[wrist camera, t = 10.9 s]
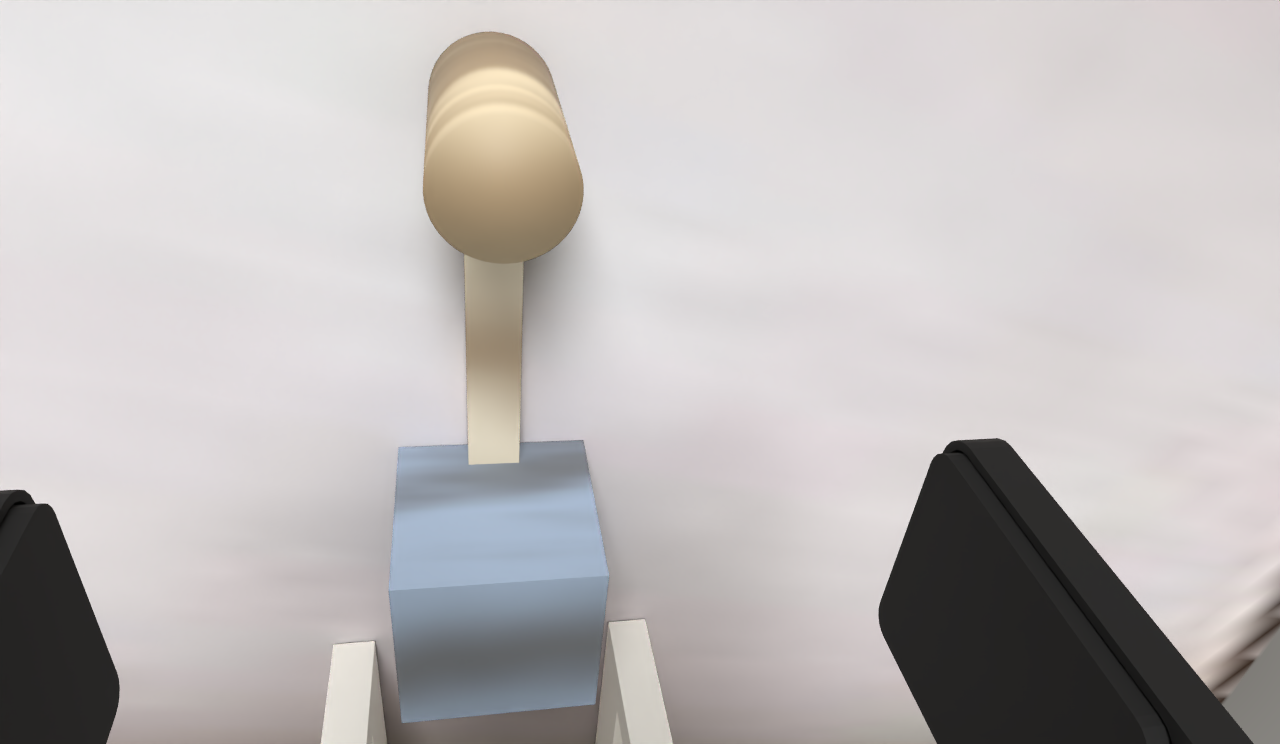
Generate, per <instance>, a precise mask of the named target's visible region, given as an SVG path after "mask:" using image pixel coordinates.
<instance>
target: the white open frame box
mask: <svg viewBox="0 0 1280 744" xmlns="http://www.w3.org/2000/svg"><path fill="white" fill-rule="evenodd" d="M321 744H387V737H386V729H385V721H384V713H383V705H382V696H381V688H380V680H379V672H378V663H377V655H376V647H375V641H370V642H357V643H345V644H333V652H332V660H331V668H330V676H329V683H328V691H327V699H326V707H325V715H324V723H323V731H322V739H321ZM595 744H673V741H672V737H671V733H670V728H669V724H668V719H667V715H666V710H665V706H664V701H663V697H662V692H661V688H660V683H659V679H658V674H657V670H656V666H655V661H654V657H653V652H652V648H651V643H650V639H649V634H648V630H647V625H646V621H645V619H640V620H628V621H615V622H608V630H607V640H606V649H605V658H604V667H603V677H602V686H601V695H600V704H599V714H598V723H597V732H596V741H595Z"/></svg>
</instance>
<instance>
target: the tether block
mask: <svg viewBox="0 0 1280 744" xmlns="http://www.w3.org/2000/svg"><path fill="white" fill-rule="evenodd" d="M423 196H424V203H425V207H426V210H427V213H428V216H429V218H430V220H431V222H432V224H433V225H434V227H435V229H436V230H437V231H438V233H439V234H440V235H441V236H442V237H443V238H444V239H445V240H446V241H447V242H448V243H449V244H450V245H451V246H453V247H454V248H455V249H457V250H458V251H460V252H462V253H463V254H464V276H465V324H466V372H467V419H468V445H448V446H422V447H399V450H398V464H397V479H396V493H395V507H394V522H393V536H392V550H391V565H390V579H389V599H390V609H391V619H392V629H393V639H394V650H395V660H396V670H397V680H398V690H399V700H400V710H401V720H402V723H409V722H420V721H430V720H440V719H450V718H460V717H471V716H481V715H491V714H501V713H511V712H522V711H532V710H542V709H552V708H562V707H573V706H583V705H593V704H595V701H596V692H597V683H598V674H599V664H600V655H601V646H602V637H603V627H604V618H605V609H606V600H607V590H608V581H609V572H608V567H607V562H606V557H605V552H604V546H603V541H602V536H601V531H600V526H599V520H598V515H597V510H596V505H595V500H594V494H593V489H592V484H591V479H590V474H589V468H588V463H587V458H586V453H585V448H584V442H583V440H577V441H551V442H525V443H520V400H521V354H522V309H523V263H524V261H527V260H531V259H534V258H536V257H538V256H541V255H543V254H545V253H546V252H548V251H550V250H551V249H553V248H554V247H555V246H557V245H558V244H559V243H560V242H561V241H562V240H563V239H564V238H565V237H566V236H567V235H568V233H569V232H570V231H571V229H572V228H573V226H574V224H575V223H576V221H577V218H578V216H579V214H580V210H581V207H582V202H583V179H582V174H581V171H580V167H579V164H578V161H577V157H576V154H575V151H574V148H573V144H572V141H571V138H570V135H569V131H568V128H567V125H566V121H565V118H564V115H563V112H562V108H561V105H560V102H559V99H558V95H557V92H556V89H555V86H554V82H553V79H552V76H551V73H550V71H549V69H548V67H547V65H546V63H545V62H544V60H543V59H542V58H541V56H540V55H539V54H538V53H537V52H536V51H535V50H534V49H533V48H532V47H531V46H529V45H528V44H527V43H525V42H523V41H522V40H520V39H518V38H516V37H513V36H511V35H508V34H504V33H498V32H481V33H475V34H471V35H468V36H466V37H463V38H461V39H459V40H458V41H456V42H454V43H453V44H452V45H450V46H449V47H448V48H447V49H446V50H445V51H444V52H443V53H442V54H441V55H440V57H439V58H438V60H437V62H436V63H435V65H434V68H433V70H432V73H431V76H430V80H429V88H428V106H427V124H426V141H425V159H424V177H423Z"/></svg>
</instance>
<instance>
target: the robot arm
mask: <svg viewBox="0 0 1280 744" xmlns="http://www.w3.org/2000/svg"><path fill="white" fill-rule="evenodd" d="M879 624H880V628H881V631H882V634H883V636H884V638H885V640H886V642H887V644H888V646H889V648H890V650H891V652H892V654H893V656H894V658H895V660H896V662H897V664H898V666H899V668H900V670H901V672H902V674H903V676H904V678H905V680H906V682H907V684H908V686H909V688H910V690H911V692H912V694H913V696H914V698H915V700H916V702H917V704H918V706H919V708H920V710H921V712H922V714H923V716H924V718H925V720H926V722H927V724H928V726H929V728H930V730H931V732H932V734H933V736H934V738H935V740H936V742H937V744H1253V742H1252V741H1251V740H1250V739H1249V738H1248V736H1247V735H1246V734H1245V733H1244V731H1243V730H1242V729H1241V728H1240V726H1239V725H1238V724H1237V723H1236V722H1235V721H1234V719H1233V718H1232V717H1231V715H1230V714H1229V713H1228V712H1227V711H1226V709H1225V708H1224V707H1223V706H1222V704H1221V703H1220V702H1219V701H1218V699H1217V698H1216V697H1215V696H1214V695H1213V693H1212V692H1211V691H1210V690H1209V688H1208V687H1207V686H1206V685H1205V684H1204V682H1203V681H1202V680H1201V679H1200V677H1199V676H1198V675H1197V674H1196V672H1195V671H1194V670H1193V669H1192V668H1191V666H1190V665H1189V664H1188V663H1187V661H1186V660H1185V659H1184V658H1183V657H1182V655H1181V654H1180V653H1179V652H1178V650H1177V649H1176V648H1175V647H1174V646H1173V644H1172V643H1171V642H1170V641H1169V639H1168V638H1167V637H1166V636H1165V634H1164V633H1163V632H1162V631H1161V630H1160V628H1159V627H1158V626H1157V625H1156V623H1155V622H1154V621H1153V620H1152V619H1151V617H1150V616H1149V615H1148V614H1147V612H1146V611H1145V610H1144V609H1143V607H1142V606H1141V605H1140V604H1139V603H1138V601H1137V600H1136V599H1135V598H1134V596H1133V595H1132V594H1131V593H1130V592H1129V590H1128V589H1127V588H1126V587H1125V585H1124V584H1123V583H1122V582H1121V581H1120V579H1119V578H1118V577H1117V576H1116V574H1115V573H1114V572H1113V571H1112V569H1111V568H1110V567H1109V566H1108V565H1107V563H1106V562H1105V561H1104V560H1103V558H1102V557H1101V556H1100V555H1099V554H1098V552H1097V551H1096V550H1095V549H1094V547H1093V546H1092V545H1091V544H1090V543H1089V541H1088V540H1087V539H1086V538H1085V536H1084V535H1083V534H1082V533H1081V531H1080V530H1079V529H1078V528H1077V527H1076V525H1075V524H1074V523H1073V522H1072V520H1071V519H1070V518H1069V517H1068V516H1067V514H1066V513H1065V512H1064V511H1063V509H1062V508H1061V507H1060V506H1059V504H1058V503H1057V502H1056V501H1055V500H1054V498H1053V497H1052V496H1051V495H1050V493H1049V492H1048V491H1047V490H1046V489H1045V487H1044V486H1043V485H1042V484H1041V482H1040V481H1039V480H1038V479H1037V478H1036V476H1035V475H1034V474H1033V473H1032V471H1031V470H1030V469H1029V468H1028V466H1027V465H1026V464H1025V463H1024V462H1023V460H1022V459H1021V458H1020V457H1019V455H1018V454H1017V453H1016V452H1015V451H1014V449H1013V448H1012V447H1011V446H1010V445H1009V444H1008V443H1007V442H1006V441H1004V440H1001V439H998V438H996V439H977V440H958V441H952V442H951V443H949V444H948V445H947V446H946V448H945V450H944V452H943V453H942V454H937V455H936V456H935V457H934V458H933V460H932V462H931V464H930V467H929V470H928V472H927V475H926V478H925V481H924V483H923V486H922V489H921V492H920V494H919V497H918V500H917V503H916V505H915V508H914V511H913V514H912V516H911V519H910V522H909V525H908V527H907V530H906V533H905V536H904V538H903V541H902V544H901V547H900V549H899V552H898V555H897V558H896V560H895V563H894V566H893V569H892V571H891V574H890V577H889V580H888V582H887V585H886V588H885V591H884V593H883V596H882V599H881V602H880V605H879ZM118 702H119V678H118V675H117V671H116V669H115V666H114V664H113V661H112V659H111V656H110V653H109V651H108V648H107V646H106V643H105V641H104V638H103V635H102V633H101V630H100V628H99V625H98V623H97V620H96V617H95V615H94V612H93V610H92V607H91V605H90V602H89V599H88V597H87V594H86V592H85V589H84V586H83V584H82V581H81V579H80V576H79V574H78V571H77V568H76V566H75V563H74V561H73V558H72V556H71V553H70V550H69V548H68V545H67V543H66V540H65V538H64V535H63V532H62V530H61V527H60V525H59V522H58V519H57V517H56V514H55V512H54V510H53V509H52V507H51V506H50V505H48V504H35V502H34V501H33V499H32V497H31V495H30V494H28V493H27V492H26V491H25V490H4V491H0V744H106V743H107V740H108V736H109V733H110V730H111V727H112V724H113V721H114V718H115V715H116V712H117V708H118Z"/></svg>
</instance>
